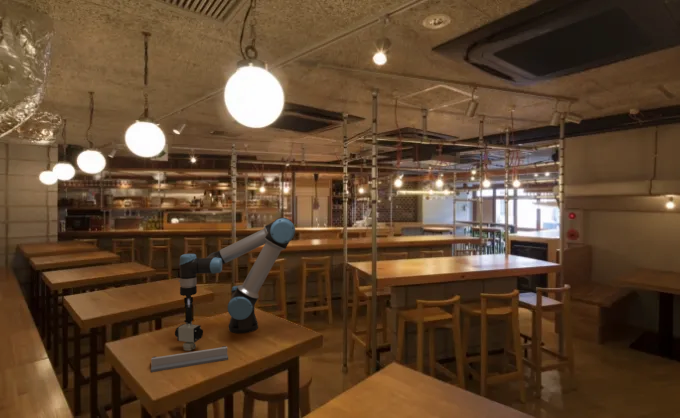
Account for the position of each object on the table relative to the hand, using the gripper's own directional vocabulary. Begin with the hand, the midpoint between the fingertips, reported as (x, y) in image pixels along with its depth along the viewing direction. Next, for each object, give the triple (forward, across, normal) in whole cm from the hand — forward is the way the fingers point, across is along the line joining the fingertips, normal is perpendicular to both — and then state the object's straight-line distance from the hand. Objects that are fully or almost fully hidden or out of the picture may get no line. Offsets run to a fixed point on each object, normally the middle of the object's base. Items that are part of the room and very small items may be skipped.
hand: (189, 334), depth 186 cm
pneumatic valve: (+4, +11, 0) cm, 11 cm away
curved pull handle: (+3, +25, 0) cm, 25 cm away
